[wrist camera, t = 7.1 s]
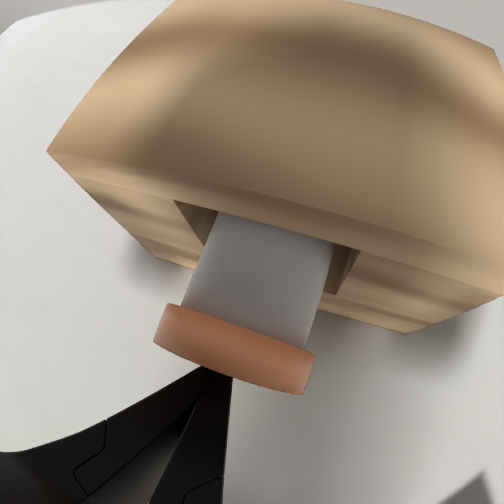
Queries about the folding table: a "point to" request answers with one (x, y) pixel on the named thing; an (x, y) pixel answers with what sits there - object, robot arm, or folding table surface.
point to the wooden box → (308, 147)
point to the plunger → (251, 304)
